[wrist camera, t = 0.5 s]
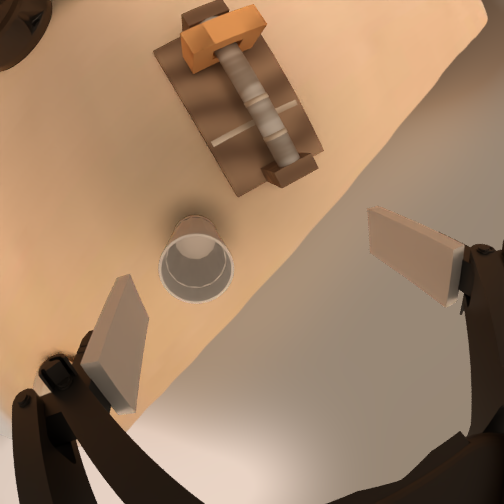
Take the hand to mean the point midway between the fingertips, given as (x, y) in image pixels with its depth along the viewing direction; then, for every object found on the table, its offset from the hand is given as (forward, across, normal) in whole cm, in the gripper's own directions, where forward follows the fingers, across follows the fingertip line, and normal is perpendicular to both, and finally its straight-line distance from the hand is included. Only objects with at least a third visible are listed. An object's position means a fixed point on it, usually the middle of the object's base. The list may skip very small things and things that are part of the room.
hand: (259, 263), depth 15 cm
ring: (+24, +4, +18) cm, 31 cm away
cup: (+27, -5, -6) cm, 28 cm away
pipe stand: (+27, +6, +12) cm, 30 cm away
